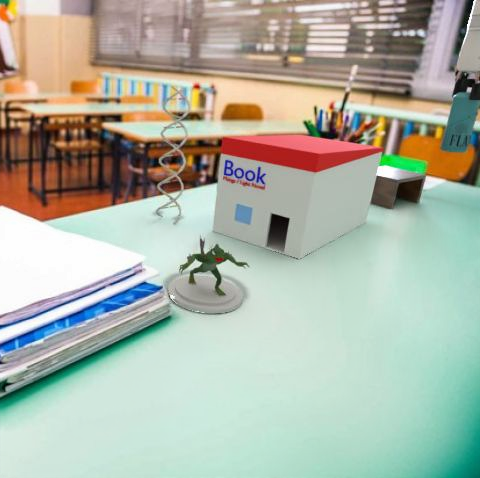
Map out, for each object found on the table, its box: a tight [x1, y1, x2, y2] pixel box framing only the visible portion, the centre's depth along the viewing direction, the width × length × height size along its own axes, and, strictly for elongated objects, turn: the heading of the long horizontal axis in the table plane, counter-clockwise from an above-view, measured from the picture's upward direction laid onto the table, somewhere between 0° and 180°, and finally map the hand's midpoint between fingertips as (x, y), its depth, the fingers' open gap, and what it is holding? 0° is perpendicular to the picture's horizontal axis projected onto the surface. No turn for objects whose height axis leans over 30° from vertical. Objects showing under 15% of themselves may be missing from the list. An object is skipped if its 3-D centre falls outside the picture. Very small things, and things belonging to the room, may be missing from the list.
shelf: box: [370, 165, 427, 210], centre depth 137 cm, size 12×14×8 cm
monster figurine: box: [167, 235, 250, 314], centre depth 79 cm, size 12×12×10 cm
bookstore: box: [212, 134, 385, 260], centre depth 110 cm, size 21×35×21 cm, turn 135°
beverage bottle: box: [440, 78, 480, 154], centre depth 130 cm, size 6×7×20 cm
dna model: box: [155, 85, 192, 225], centre depth 109 cm, size 7×6×30 cm
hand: (466, 98), depth 128 cm, fingers closed on beverage bottle, 6 cm apart
